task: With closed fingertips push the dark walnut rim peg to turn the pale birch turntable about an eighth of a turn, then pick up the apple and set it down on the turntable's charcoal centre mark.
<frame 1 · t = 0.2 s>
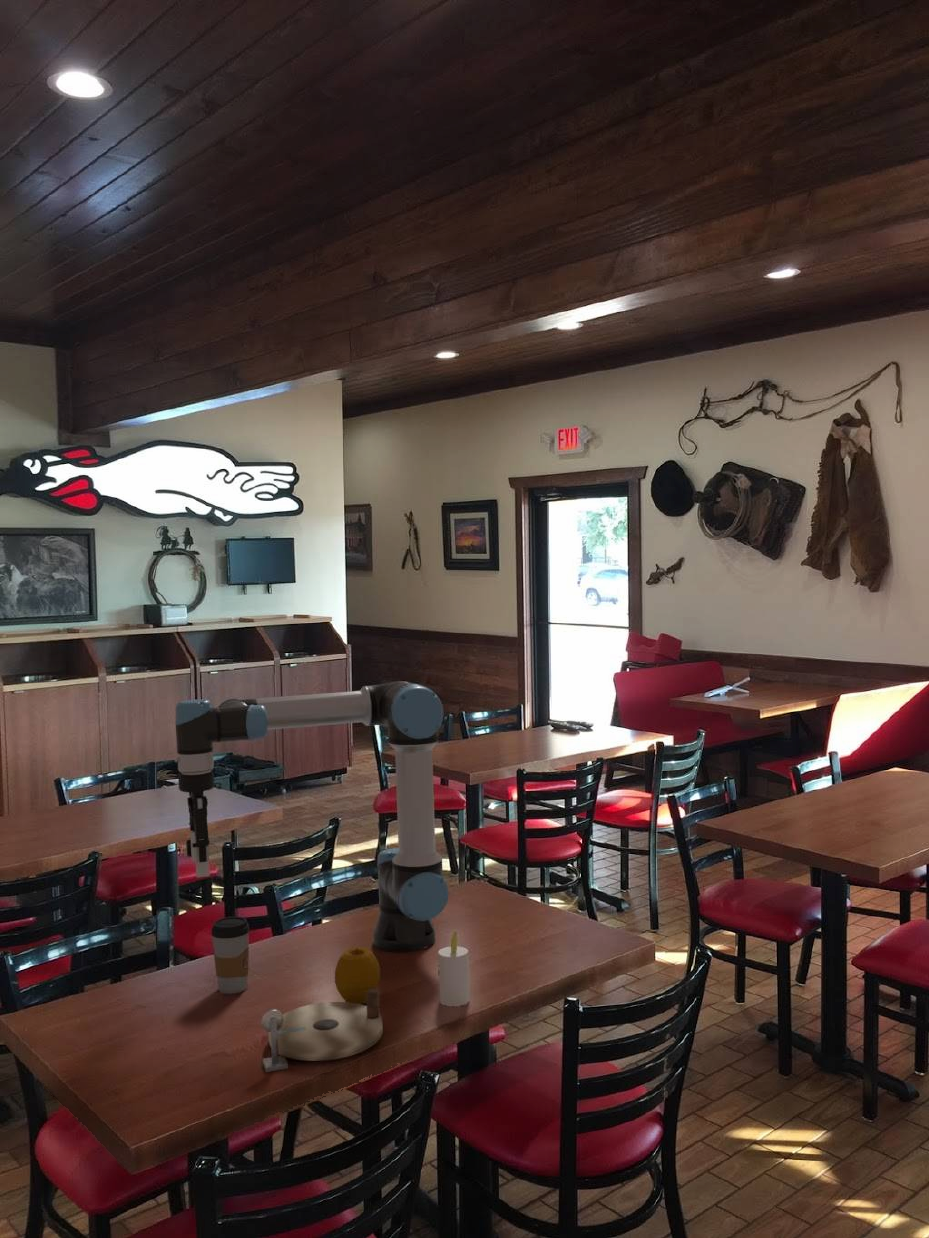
hand: (200, 868, 230), 28 cm above the table, fingers open, 13 cm apart
candle: (454, 1001, 223), on the table
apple: (358, 1003, 224), on the table
indicator stand: (275, 1065, 196), on the table
coffee cup: (233, 989, 234), on the table
turntable: (325, 1017, 206), point 5 cm above the table, hinge at 0.0°
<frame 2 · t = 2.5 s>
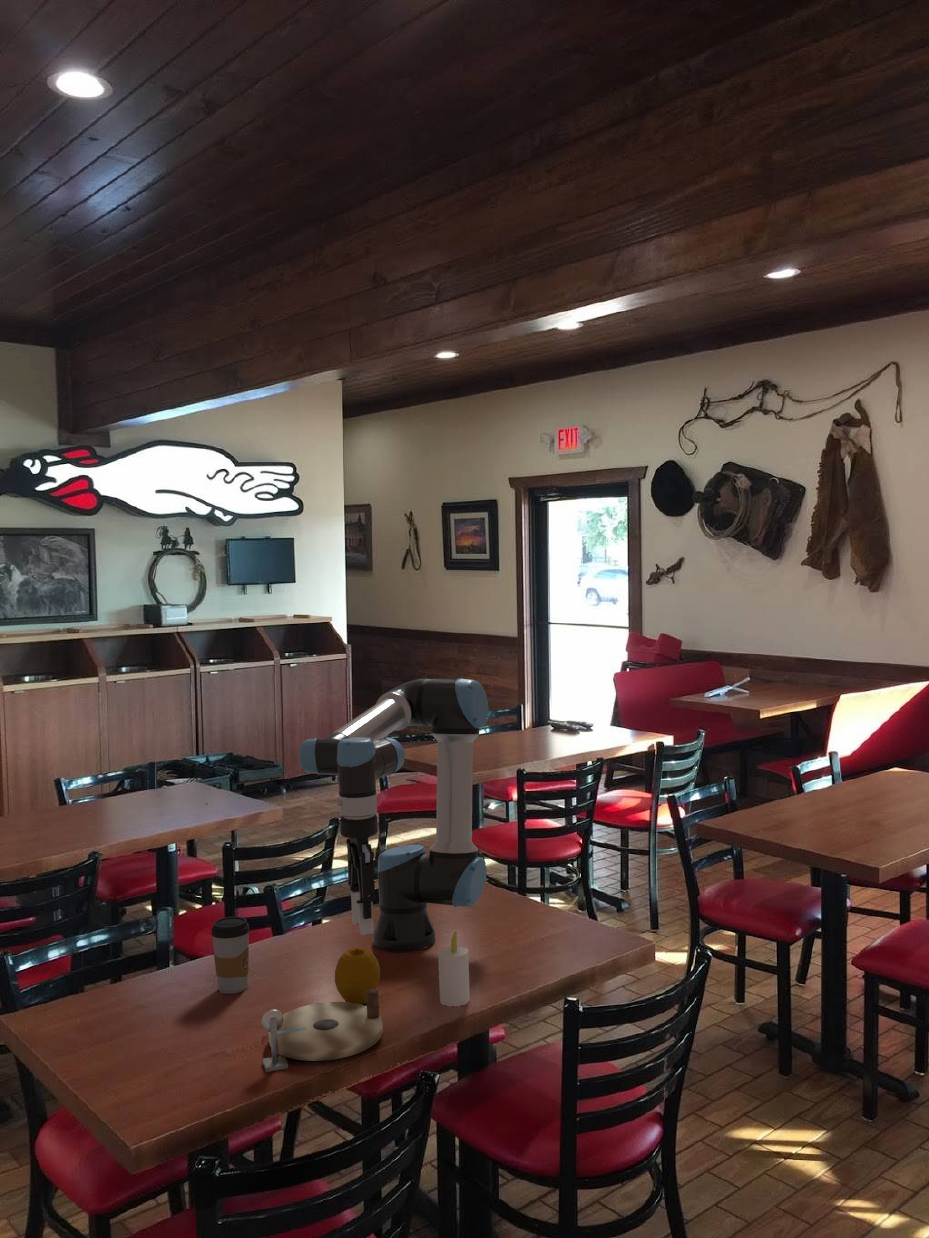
hand: (362, 927, 214), 19 cm above the table, fingers open, 6 cm apart
nothing on the table moved.
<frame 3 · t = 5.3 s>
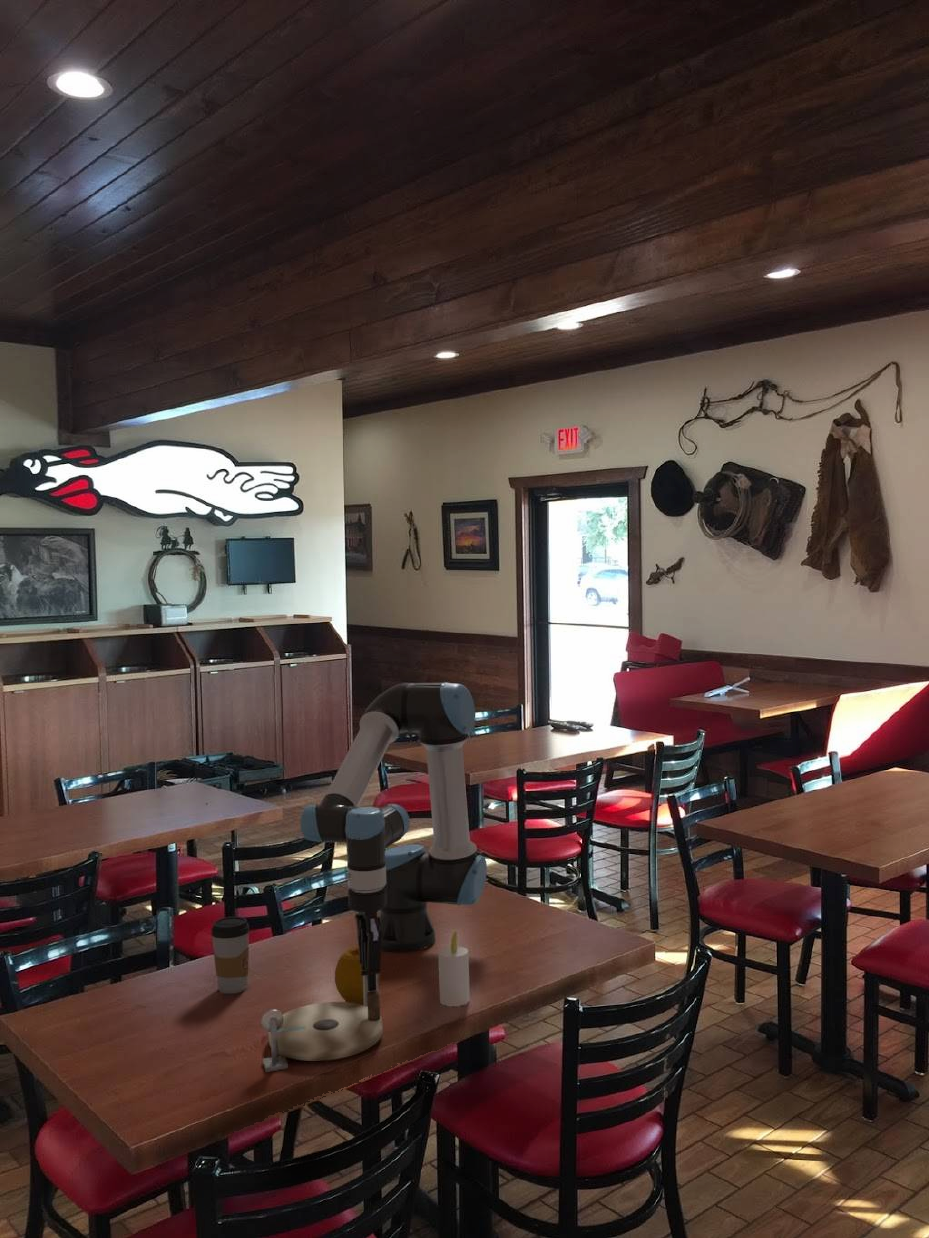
hand: (371, 1004, 210), 5 cm above the table, fingers closed
turntable: (325, 1017, 206), point 5 cm above the table, hinge at -6.0°, touching gripper
everything else where it was.
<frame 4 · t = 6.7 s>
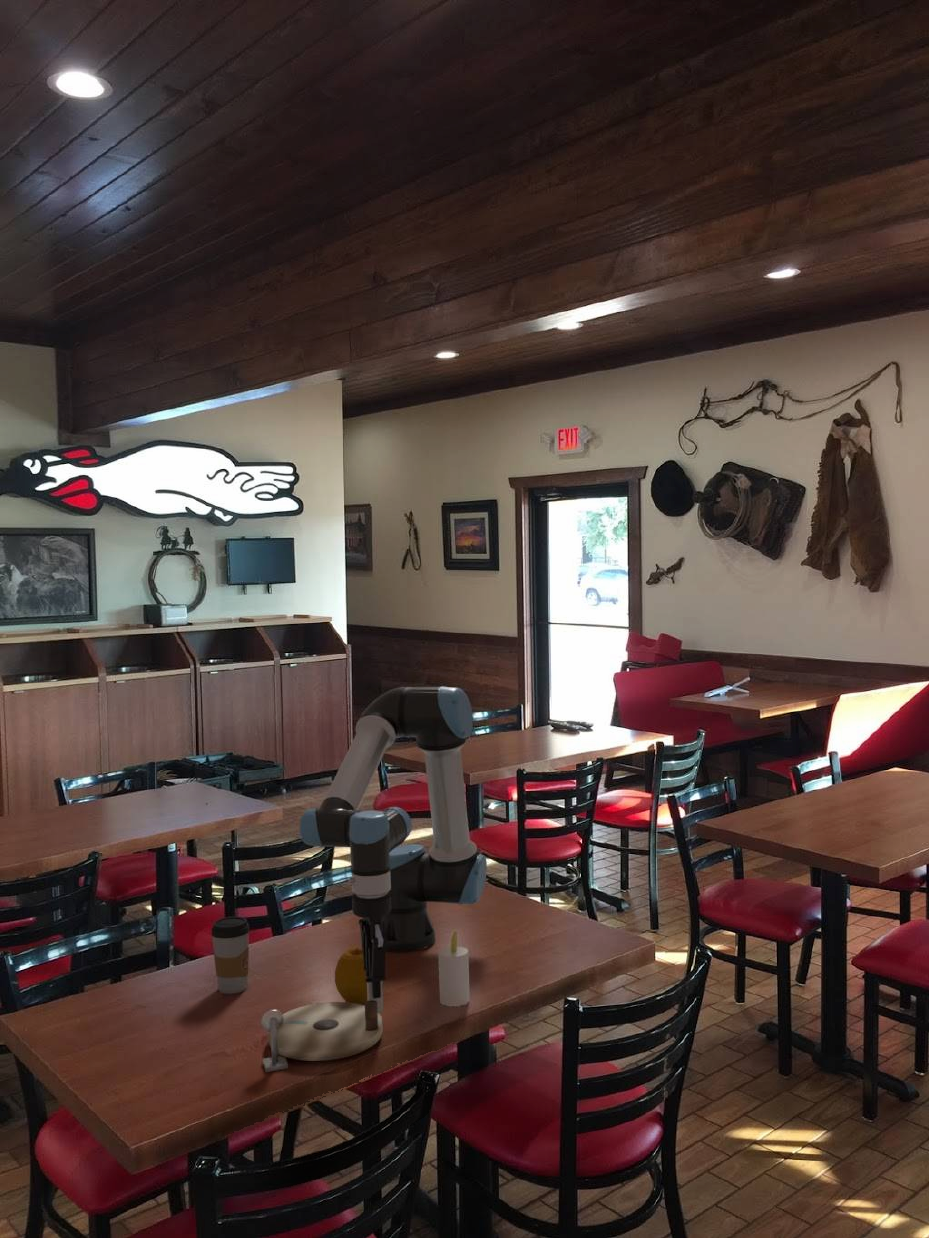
hand: (375, 1011, 206), 5 cm above the table, fingers closed
turntable: (325, 1017, 206), point 5 cm above the table, hinge at -33.5°
everything else where it was.
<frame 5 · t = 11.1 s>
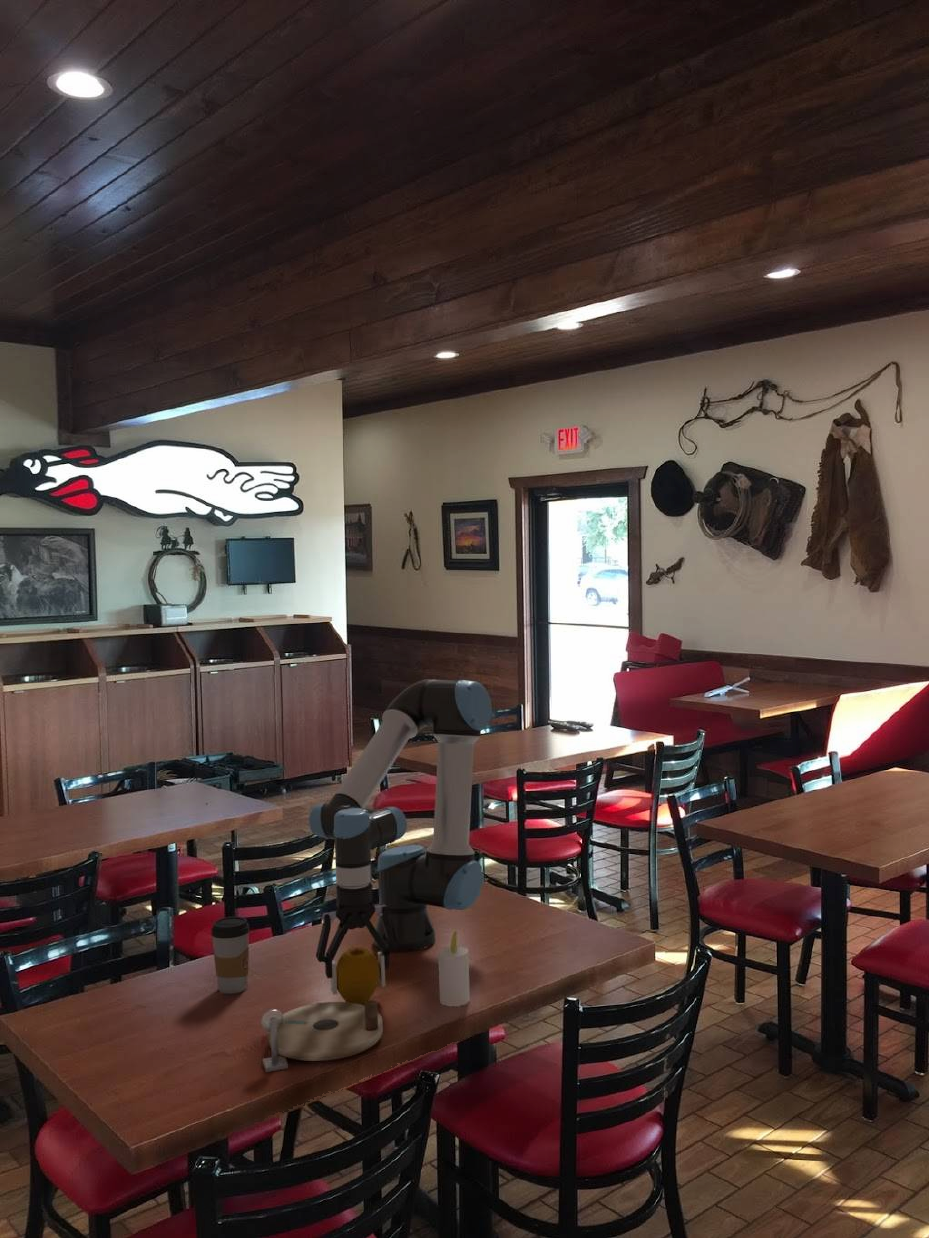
hand: (358, 988, 223), 3 cm above the table, fingers closed on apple, 10 cm apart
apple: (358, 1003, 224), on the table, touching gripper
everything else where it was.
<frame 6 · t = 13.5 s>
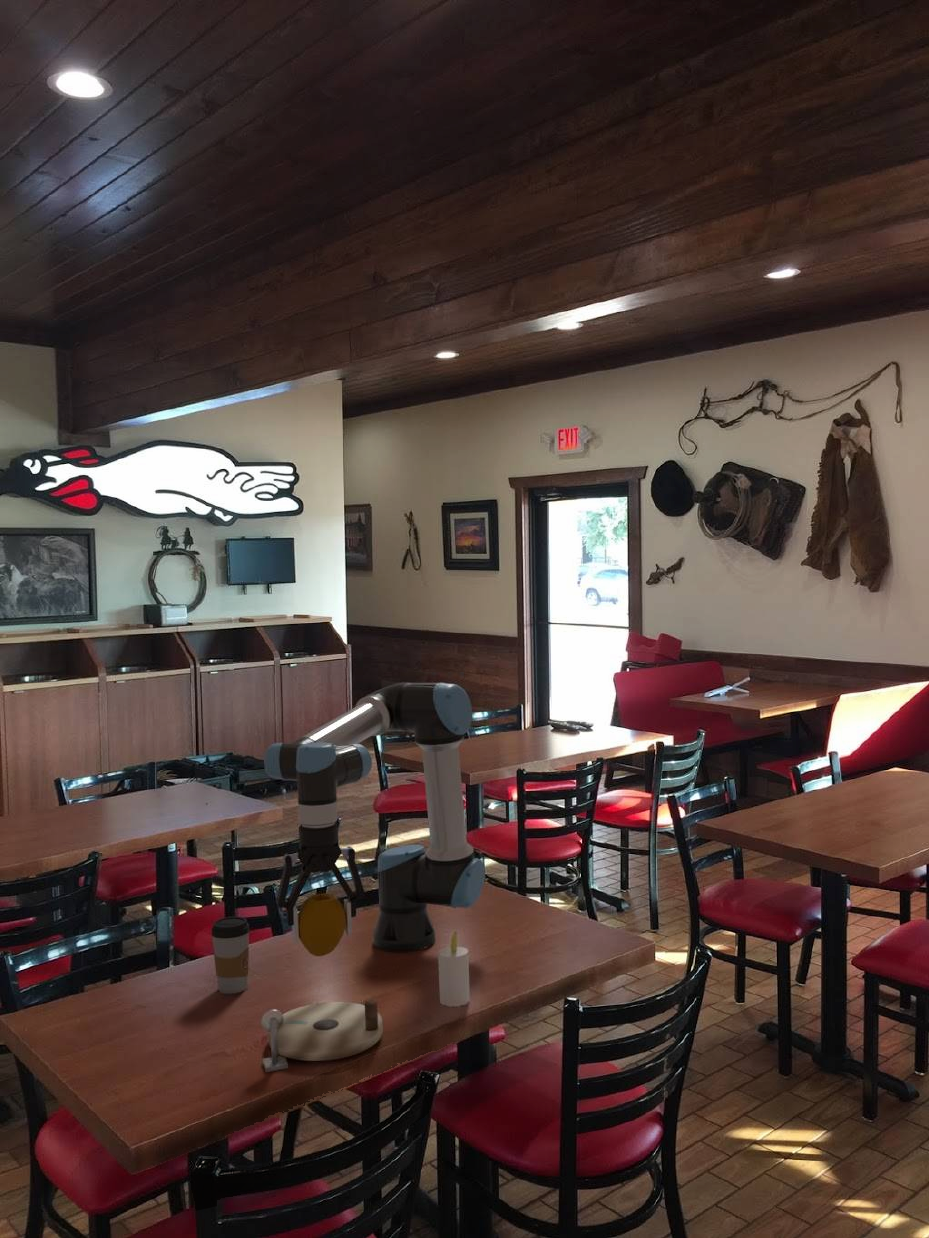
hand: (322, 937, 206), 20 cm above the table, fingers closed on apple, 10 cm apart
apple: (323, 954, 206), point 17 cm above the table, touching gripper
everything else where it was.
when the fingers open (8 cm above the table, at t = 16.3 s): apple drops 1 cm, resting on turntable.
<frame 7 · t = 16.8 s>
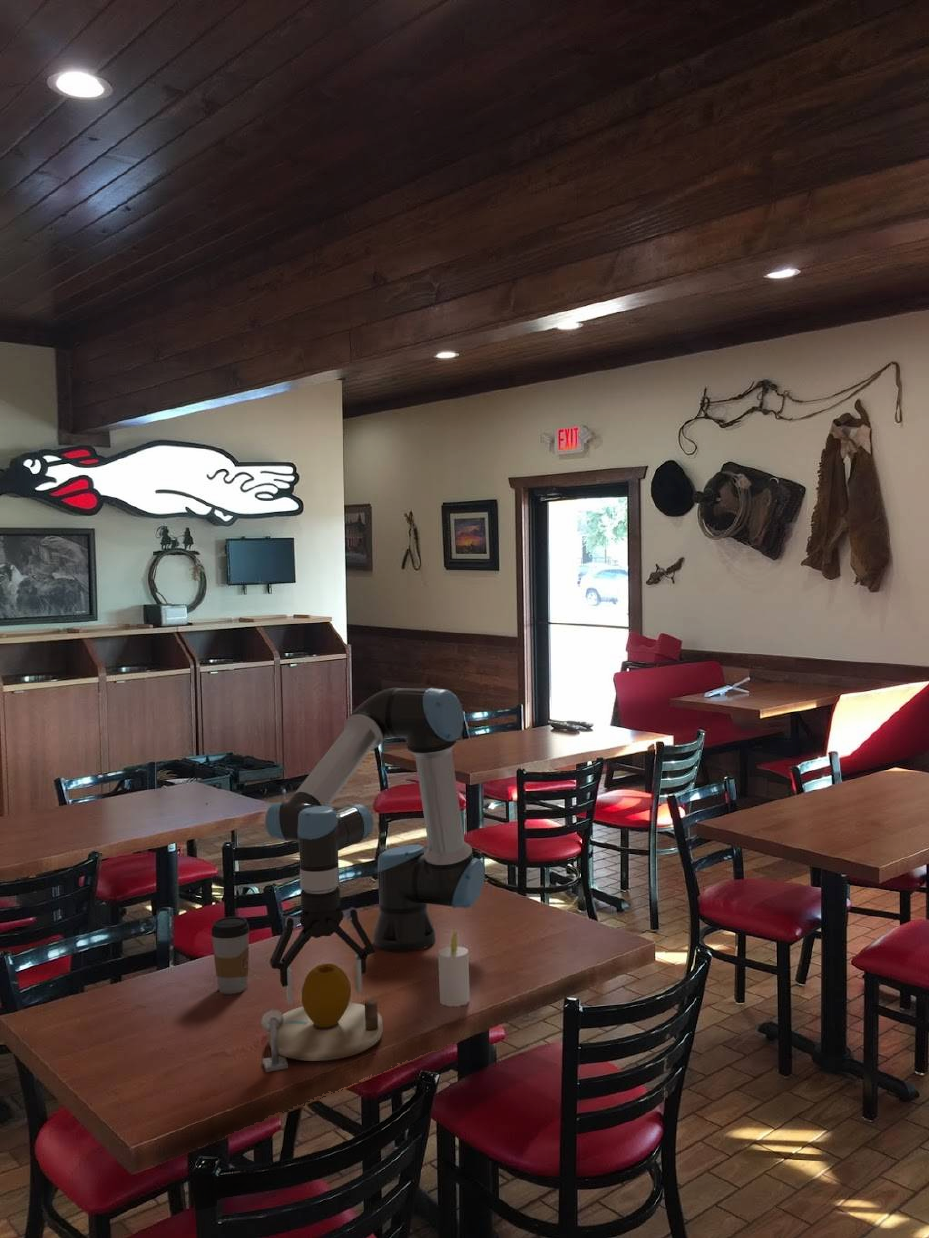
hand: (324, 995, 206), 9 cm above the table, fingers open, 13 cm apart
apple: (328, 1025, 206), point 3 cm above the table, touching turntable
turntable: (325, 1017, 206), point 5 cm above the table, hinge at -33.5°, touching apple
everything else where it was.
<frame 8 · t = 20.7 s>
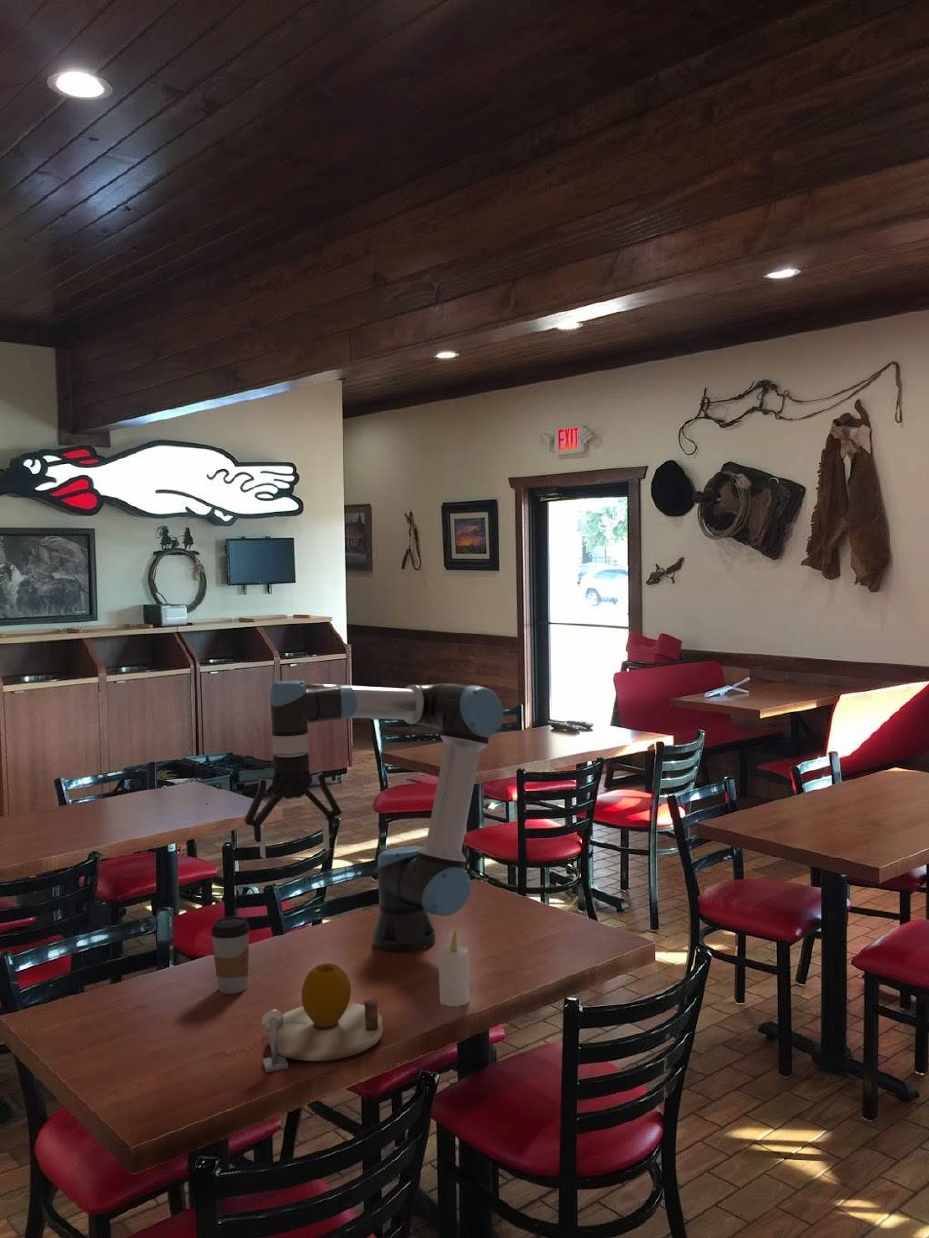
hand: (295, 852, 225), 32 cm above the table, fingers open, 13 cm apart
nothing on the table moved.
at the end: turntable at -34° (first picture: +0°); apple 0.4 cm from the turntable (horizontally); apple point 2.8 cm above the table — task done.
